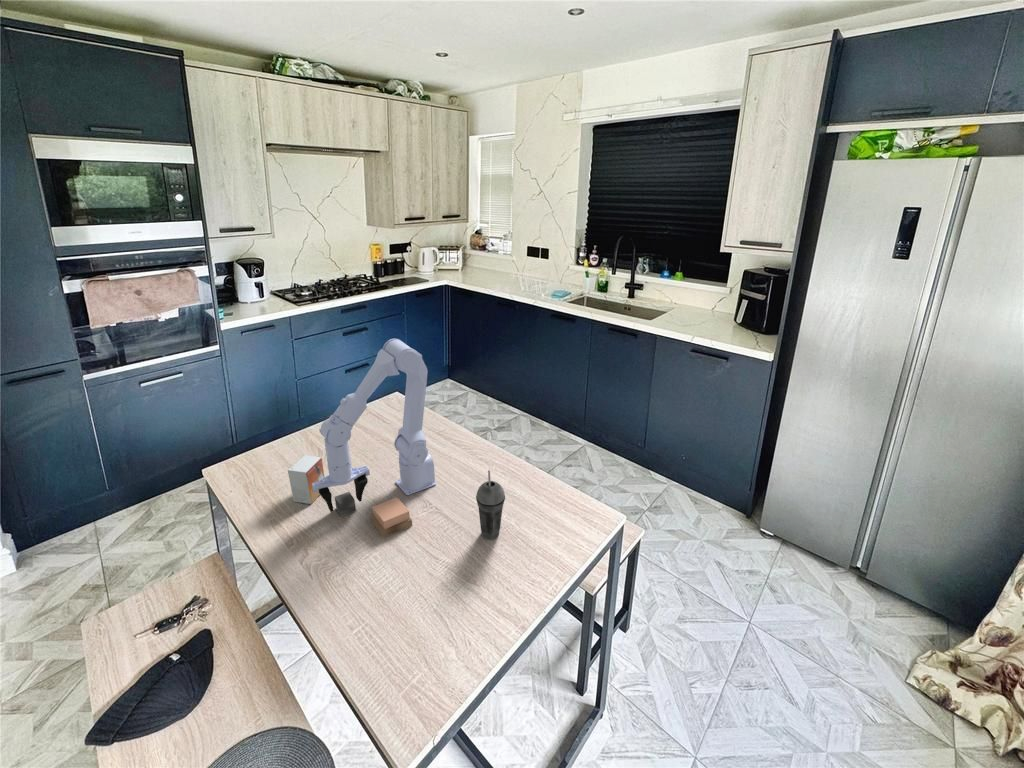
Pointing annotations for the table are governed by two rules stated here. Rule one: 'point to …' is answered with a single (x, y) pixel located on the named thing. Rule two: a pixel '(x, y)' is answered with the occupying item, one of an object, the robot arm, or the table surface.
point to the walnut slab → (391, 529)
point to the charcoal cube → (345, 503)
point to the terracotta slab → (391, 513)
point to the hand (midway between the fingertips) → (345, 504)
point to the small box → (305, 478)
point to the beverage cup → (490, 508)
